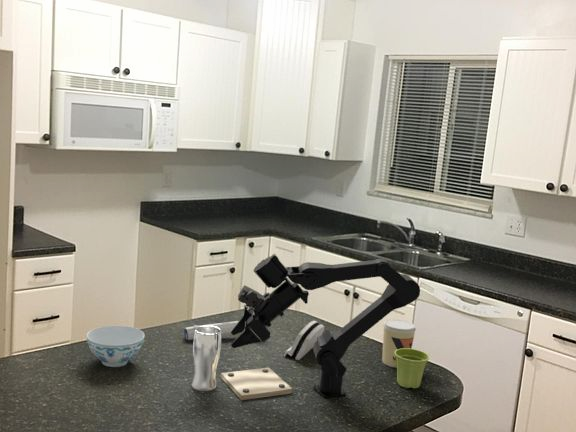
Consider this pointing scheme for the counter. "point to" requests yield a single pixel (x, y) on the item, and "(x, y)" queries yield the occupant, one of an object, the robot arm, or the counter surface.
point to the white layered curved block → (305, 340)
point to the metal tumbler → (206, 357)
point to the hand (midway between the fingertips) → (232, 340)
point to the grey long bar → (224, 327)
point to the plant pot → (410, 367)
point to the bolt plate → (255, 383)
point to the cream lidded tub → (396, 339)
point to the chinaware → (115, 344)
